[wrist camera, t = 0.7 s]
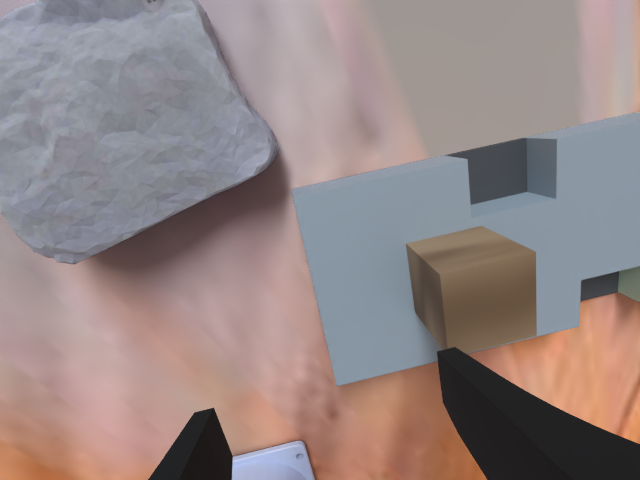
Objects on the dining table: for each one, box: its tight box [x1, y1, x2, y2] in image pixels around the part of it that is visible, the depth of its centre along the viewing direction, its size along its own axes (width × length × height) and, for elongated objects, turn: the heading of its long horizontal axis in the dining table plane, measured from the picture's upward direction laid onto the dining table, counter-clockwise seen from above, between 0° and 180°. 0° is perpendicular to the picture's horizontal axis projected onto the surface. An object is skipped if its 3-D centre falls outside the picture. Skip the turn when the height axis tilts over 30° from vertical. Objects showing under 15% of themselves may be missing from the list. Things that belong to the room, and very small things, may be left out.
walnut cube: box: [406, 226, 537, 354], centre depth 16 cm, size 4×4×4 cm
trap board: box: [292, 112, 640, 386], centre depth 19 cm, size 24×11×4 cm, turn 102°
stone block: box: [0, 0, 279, 264], centre depth 16 cm, size 12×5×10 cm
